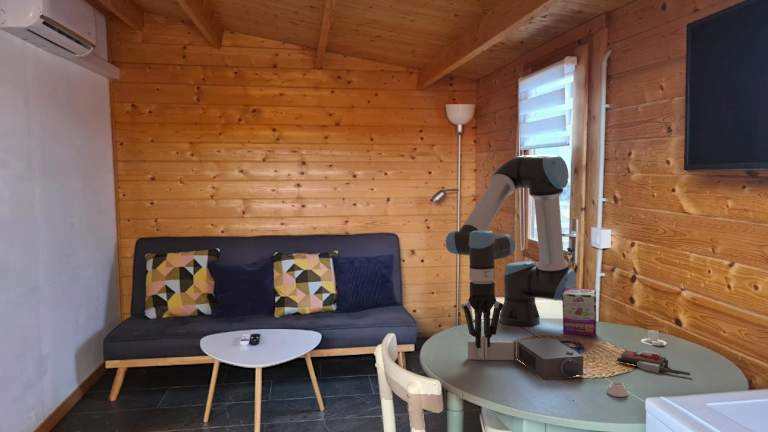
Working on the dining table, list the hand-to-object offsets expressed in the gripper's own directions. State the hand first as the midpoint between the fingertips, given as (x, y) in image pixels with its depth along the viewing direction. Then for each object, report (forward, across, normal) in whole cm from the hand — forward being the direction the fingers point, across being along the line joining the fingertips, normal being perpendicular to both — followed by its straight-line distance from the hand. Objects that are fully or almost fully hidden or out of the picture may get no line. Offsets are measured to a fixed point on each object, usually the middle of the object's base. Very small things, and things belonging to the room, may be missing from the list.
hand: (482, 357), depth 174 cm
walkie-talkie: (+3, +47, -16) cm, 50 cm away
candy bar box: (+1, +45, +22) cm, 50 cm away
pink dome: (+2, +25, -31) cm, 40 cm away
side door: (+1, +3, +1) cm, 4 cm away
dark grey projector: (+2, +17, -9) cm, 19 cm away
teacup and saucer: (+2, +60, +5) cm, 61 cm away
